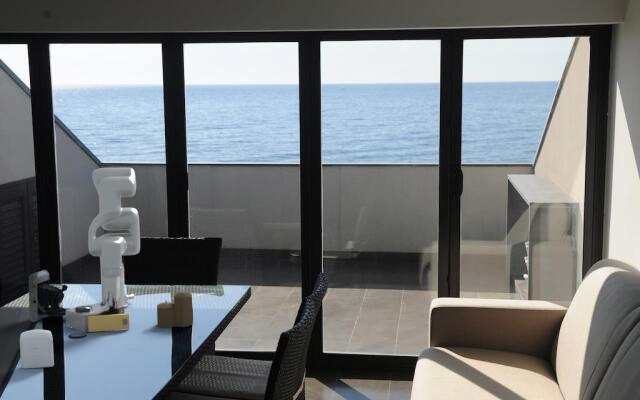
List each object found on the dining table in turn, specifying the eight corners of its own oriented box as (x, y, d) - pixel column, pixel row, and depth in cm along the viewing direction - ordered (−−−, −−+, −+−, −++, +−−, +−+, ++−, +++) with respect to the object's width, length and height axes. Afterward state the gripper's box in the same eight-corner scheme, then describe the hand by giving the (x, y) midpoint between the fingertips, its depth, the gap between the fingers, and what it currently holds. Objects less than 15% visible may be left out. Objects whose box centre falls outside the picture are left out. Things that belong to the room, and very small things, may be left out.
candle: (200, 321, 316) (199, 284, 315) (184, 329, 304) (183, 291, 302) (170, 318, 321) (169, 282, 319) (152, 326, 308) (151, 289, 306)
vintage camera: (63, 325, 312) (64, 275, 310) (28, 322, 315) (28, 272, 313) (76, 319, 321) (76, 271, 319) (41, 316, 324) (41, 268, 322)
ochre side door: (129, 328, 304) (128, 311, 304) (129, 330, 302) (128, 313, 301) (85, 331, 300) (84, 314, 299) (85, 333, 298) (84, 316, 297)
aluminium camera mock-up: (105, 317, 322) (104, 298, 321) (124, 322, 314) (124, 303, 313) (66, 326, 309) (65, 307, 308) (85, 332, 300) (85, 312, 299)
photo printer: (19, 369, 256) (18, 332, 255) (22, 365, 261) (20, 329, 259) (52, 367, 258) (51, 331, 257) (54, 363, 262) (53, 327, 261)
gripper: (105, 268, 311) (107, 313, 313) (98, 276, 296) (100, 323, 298) (124, 267, 312) (126, 313, 314) (118, 275, 297) (120, 323, 299)
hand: (113, 318), depth 306 cm, fingers closed
